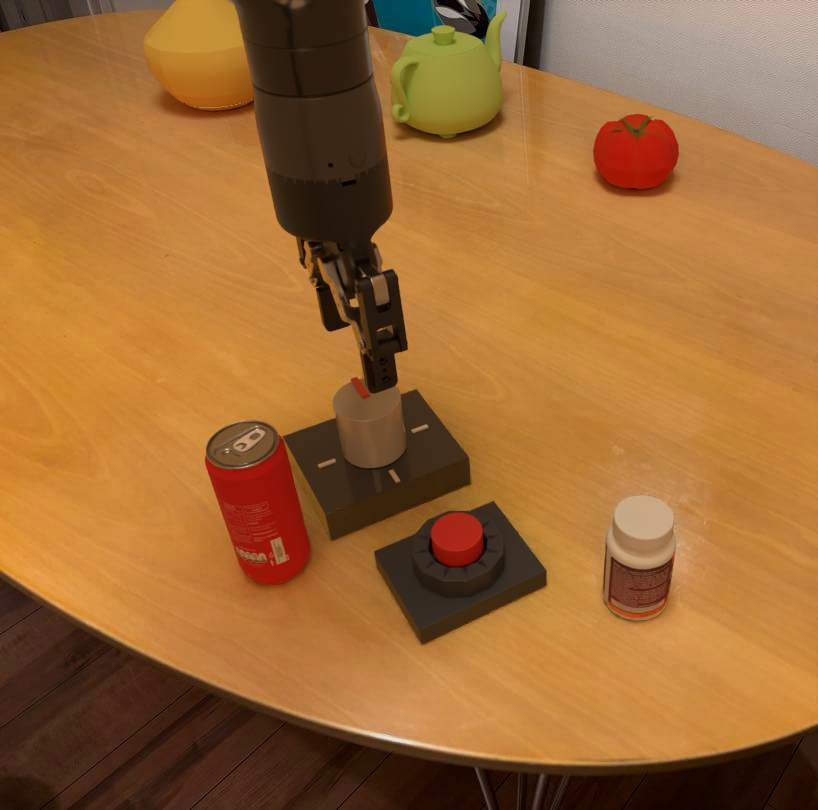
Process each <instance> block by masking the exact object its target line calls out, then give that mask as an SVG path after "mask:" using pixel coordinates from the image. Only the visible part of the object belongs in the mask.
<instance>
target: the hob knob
mask: <svg viewBox="0 0 818 810" xmlns="http://www.w3.org/2000/svg"><path fill="white" fill-rule="evenodd" d="M401 394H402V393H401V392H400V390H399V388H398V387H397V385H395V386H394V387H392V388H390V389H387V390H384V391H381V392H378V393H375V394H373V393H370V392H369V390H368V389H367V387H366V386H365V381H364V377H363V378H359V377H358V376H355V377H352V378H350V382H348V383H346V384H344V385H342V386H341V387H340V388H339V389H337V391H336V392H335V393H334V396H333V399H332V409H333V414H334V418H335V420H336V425H337V430H338V435H339V440H340V445H341V450H342V454H343V456H344V458H345V459H346V460H347V461H348V462H349V463H351V464H353V465H355V466H358V467H362V468H378V467H383V466H386V465H388V464H391V463H392V462H394V461H396V460H397V459H398V458H399V457H401V455H402V454H403V453H404V451H405V449H406V446H407V439H406V432H405V424H404V416H403V409H402V401H401Z"/></svg>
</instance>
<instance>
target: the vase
mask: <svg viewBox="0 0 818 810" xmlns="http://www.w3.org/2000/svg"><path fill="white" fill-rule="evenodd" d="M142 52H143V55H144V58H145V62H146V64H147V68H148V70H149V72H151V74H152V75H153V76H154V78H155V79H156V80H157V82H158V83H159V85H160V86H161V88H163V90H165V91H166V92H168V93H169V94H170V95H172V96H173V98H175V99H176V100H178V102H180V103H182V104H184V103H185V104H184V105H186V106H188V107H191V108H193V109H195V110H200V111H206V112H208V111H209V112H217V111H227V110H233V109H238V108H241V107H243V106H246V105H248V104H250V103H252V102H254V95H253V87H252V80H251V75H250V71H249V66H248V61H247V56H246V52H245V47H244V42H243V38H242V33H241V29H240V24H239V19H238V15H237V11H236V9H235V6H234V4H233V2H232V1H230V0H174V1H173V3H172V4H171V5H170V7H168V9H167V10H166V11H165V12H164V13H163V15H161V16H160V18H159V19H158V20H157V21H156V22H155V23H154V24H153V25H152V26H151V27H150V28H149V29H148V30H147V31H146V32H145V35H144V36H143V40H142ZM251 99H252V100H251ZM246 101H247V102H246ZM243 102H244V103H243ZM239 103H241V104H239ZM235 104H237V105H235ZM189 105H191V106H189ZM230 105H233V106H230ZM194 106H196V107H194ZM221 106H228V107H221ZM199 107H221V108H199Z"/></svg>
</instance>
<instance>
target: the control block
mask: <svg viewBox="0 0 818 810" xmlns="http://www.w3.org/2000/svg"><path fill="white" fill-rule="evenodd" d="M451 513H466V514H469V515H472V516H474V517H475V518H476V519H477V520H478V521H479V522H480V523H481V526H482V530H483V552H482V554H481V556H480V557H479V558H478V559H477V560H476V561H475V562H473V563H472V564H470V565H467V566H464V567H450V566H446V565H444V564H442V563H440V562H439V561H438V560H437V559H436V557H435V556H434V553H433V547H432V538H431V530H432V527H433V525H434V524H435V522H436V521H437V520H438V519H440V518H441V517H443V516H445V515H447V514H451ZM373 554H374V560H375V565H376V568H377V570H378V572H379V573H380V575H381V576H382V579H383V580H384V582H385V584H386V585H387V587H388V589H389V591H390V592H391V594H392V596H393V598H394V599H395V601H396V602H397V604H398V606H399V609H400V610H401V612H402V613H403V615H404V616H405V618H406V620H407V622H408V623H409V625H410V627H411V629H412V631H413V632H414V634H415V636H416V638H417V639H418V641H419V642H420V644H421V645H424V644H426V643H428V642H431V641H433V640H435V639H436V638H439V637H441V636H444V635H445V634H447V633H450V632H451V631H454V630H456V629H458V628H460V627H462V626H464V625H466V624H468V623H471V622H472V621H475V620H477V619H479V618H481V617H483V616H485V615H487V614H489V613H491V612H493V611H495V610H498V609H500V608H502V607H504V606H506V605H508V604H510V603H512V602H514V601H516V600H518V599H521V598H522V597H525V596H527V595H529V594H531V593H534V592H536V591H537V590H539V589H541V588H543V587H545V586H547V579H548V577H547V576H548V575H547V573H548V570H547V569H546V568H545V566H544V565H543V564H542V562H541V561H540V560H539V559H538V557H537V555H536V554H535V553H534V552H533V550H532V549H531V548H530V546H529V545H528V544H527V543H526V541H525V540H524V538H523V537H522V536H521V535H520V533H519V532H518V530H517V529H516V528H515V527H514V526H513V524H512V523H511V522H510V520H509V519H508V518H507V516H506V515H505V513H504V512H503V511H502V510H501V508H500V507H499V506H498V504H497V503H496V502H495V500H492V501H489V502H487V503H485V504H483V505H480V506H478V507H475V508H473V509H471V510H448V511H445V512H443V513H441V514H438V515H435V516H433V517H431V518H428V519H427V520H426V521H424V523H423V524H422V525H421V526H420V528H419V529H418V530H417V531H416V532H415V533H414V534H412V535H409V536H407V537H405V538H402V539H399V540H397V541H395V542H392V543H390V544H388V545H386V546H384V547H380V548H378V549H376V550H374V551H373Z"/></svg>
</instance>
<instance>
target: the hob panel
mask: <svg viewBox="0 0 818 810" xmlns="http://www.w3.org/2000/svg"><path fill="white" fill-rule="evenodd" d="M400 394H401V401H402V409H403V416H404V424H405V432H406V439H407V446H406V449H405V451H404V453H403V454H402V455H401V457H399V458H398V459H397V460H396V461H394V462H392V463H391V464H388V465H386V466H383V467H378V468H362V467H358V466H355V465H353V464H351V463H349V462H348V461H347V460H346V459H345V458H344V456H343V454H342V450H341V445H340V440H339V435H338V430H337V425H336V420H335V417H333V418H329V419H327V420H324V421H321V422H319V423H315V424H313V425H311V426H307V427H305V428H302V429H299V430H296V431H293V432H291V433H288V434H284V435H282V438H283V440H284V443H285V446H286V450H287V454H288V458H289V462H290V466H291V470H292V472H294V474H295V476H296V478H297V480H298V482H299V484H300V485H301V488H302V489H303V491H304V493H305V495H306V496H307V499H308V501H309V502H310V504H311V506H312V508H313V510H314V512H315V514H316V515H317V517H318V519H319V521H320V522H321V525H322V526H323V528H324V530H325V532H326V534H327V536H328V537H329V539H330V541H334V540H337V539H339V538H341V537H344V536H347V535H349V534H351V533H354V532H356V531H359V530H362V529H363V528H366V527H369V526H371V525H373V524H376V523H378V522H380V521H381V522H382V521H383V520H386V519H388V518H391V517H393V516H395V515H398V514H400V513H403V512H405V511H407V510H410V509H412V508H415V507H418V506H420V505H422V504H425V503H427V502H430V501H431V500H435V499H437V498H439V497H442V496H444V495H446V494H449V493H452V492H454V491H456V490H459V489H461V488H464V487H466V486H469V485H471V484H472V480H471V478H472V477H471V466H470V457H469V455H468V454H467V453H466V451H465V449H463V447H462V446H461V444H460V443H459V442H458V441H457V439H456V438H455V437H454V435H453V434H452V433H451V432H450V430H449V429H448V428H447V427H446V425H445V424H444V422H443V421H442V420H441V419H440V417H439V416H438V415H437V413H436V412H435V411H434V409H432V407H431V406H430V405H429V403H428V402H427V401H426V399H425V398H424V396H423V395H422V394H421V392H420V391H419V390H418V389H417V388H415V389H413V390H409V391H407V392H403V393H400Z"/></svg>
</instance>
